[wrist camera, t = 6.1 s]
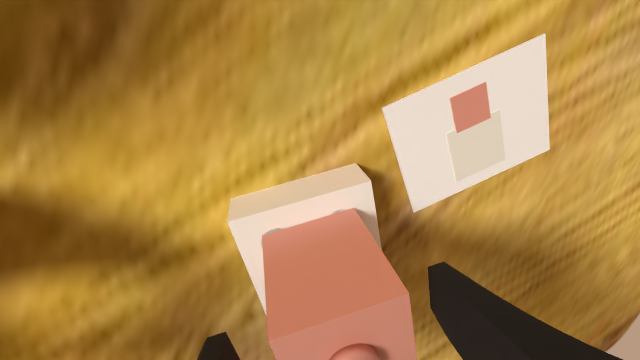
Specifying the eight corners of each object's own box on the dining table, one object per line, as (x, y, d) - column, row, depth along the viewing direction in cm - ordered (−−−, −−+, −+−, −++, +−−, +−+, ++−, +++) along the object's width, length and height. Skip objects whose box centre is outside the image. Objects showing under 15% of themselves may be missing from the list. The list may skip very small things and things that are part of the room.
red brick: (367, 277, 15) (425, 391, 10) (287, 303, 14) (306, 436, 9) (353, 207, 13) (416, 304, 8) (262, 235, 12) (269, 355, 8)
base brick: (370, 255, 17) (387, 286, 15) (267, 286, 17) (269, 324, 15) (353, 160, 15) (371, 180, 12) (231, 194, 14) (227, 222, 12)
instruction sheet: (548, 149, 16) (550, 150, 16) (412, 211, 16) (414, 213, 16) (543, 33, 14) (546, 33, 13) (381, 107, 13) (382, 108, 13)
